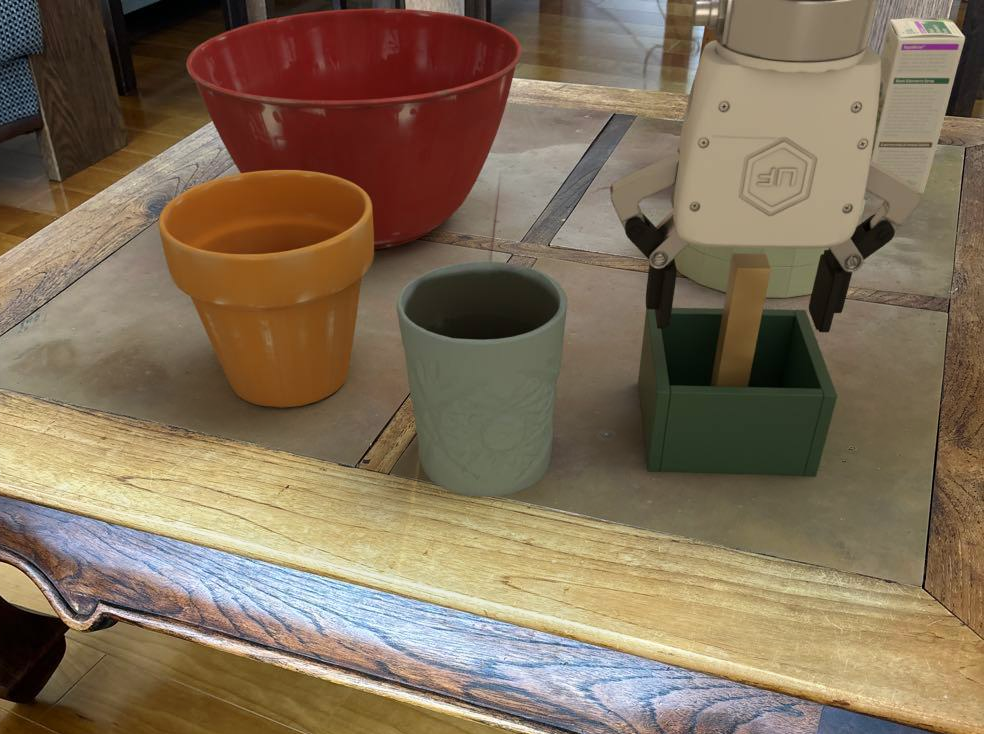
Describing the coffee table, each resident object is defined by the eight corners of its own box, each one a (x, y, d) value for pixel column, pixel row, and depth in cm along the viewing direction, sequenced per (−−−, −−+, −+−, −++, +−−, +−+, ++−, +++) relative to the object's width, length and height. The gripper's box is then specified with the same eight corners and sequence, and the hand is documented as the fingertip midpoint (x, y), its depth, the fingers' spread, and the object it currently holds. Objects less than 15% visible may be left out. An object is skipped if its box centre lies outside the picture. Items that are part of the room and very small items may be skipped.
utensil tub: (786, 392, 73) (805, 309, 69) (814, 483, 65) (837, 396, 61) (637, 389, 74) (646, 306, 70) (646, 478, 66) (657, 391, 62)
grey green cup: (517, 528, 63) (521, 357, 55) (377, 482, 67) (362, 316, 59) (582, 442, 69) (595, 278, 61) (451, 404, 73) (447, 246, 65)
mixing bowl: (297, 152, 111) (279, -5, 101) (552, 179, 104) (559, 13, 94) (161, 265, 91) (120, 84, 81) (463, 309, 84) (460, 115, 74)
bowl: (828, 226, 94) (843, 160, 90) (865, 306, 82) (884, 235, 78) (660, 224, 95) (667, 159, 91) (673, 303, 84) (683, 233, 80)
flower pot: (230, 323, 83) (201, 164, 74) (401, 334, 81) (391, 172, 72) (165, 422, 72) (122, 249, 64) (360, 438, 70) (342, 261, 62)
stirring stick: (734, 418, 70) (766, 253, 62) (738, 435, 68) (771, 268, 60) (704, 417, 70) (732, 253, 62) (708, 434, 69) (736, 268, 61)
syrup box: (924, 198, 98) (971, 35, 88) (859, 196, 98) (899, 34, 89) (913, 175, 102) (957, 17, 92) (851, 173, 103) (888, 16, 93)
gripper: (628, 43, 51) (601, 347, 62) (991, 43, 49) (896, 354, 60) (621, 3, 56) (598, 289, 67) (947, 3, 55) (867, 294, 66)
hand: (739, 319), depth 64 cm, fingers open, 9 cm apart
